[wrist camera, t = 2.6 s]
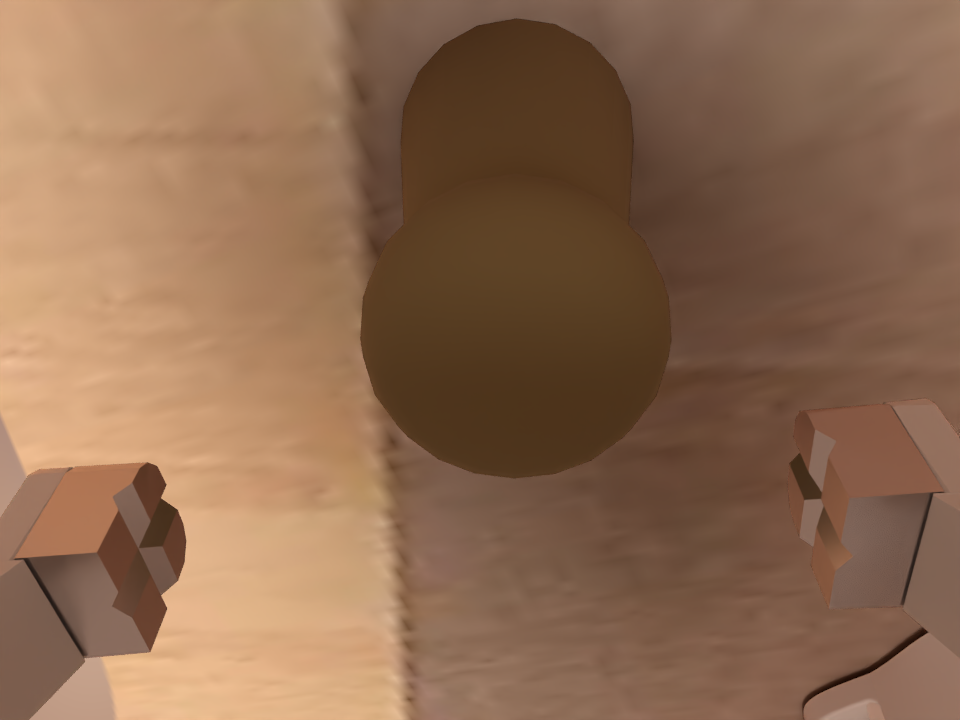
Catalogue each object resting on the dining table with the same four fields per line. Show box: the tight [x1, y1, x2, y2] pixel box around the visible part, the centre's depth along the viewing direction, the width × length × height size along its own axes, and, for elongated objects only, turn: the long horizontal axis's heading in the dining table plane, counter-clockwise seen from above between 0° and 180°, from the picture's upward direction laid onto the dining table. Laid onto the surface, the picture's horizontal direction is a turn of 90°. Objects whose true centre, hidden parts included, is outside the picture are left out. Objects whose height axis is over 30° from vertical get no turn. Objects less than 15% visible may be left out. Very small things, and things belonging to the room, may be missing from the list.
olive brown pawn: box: [360, 19, 671, 478], centre depth 18 cm, size 6×6×11 cm
